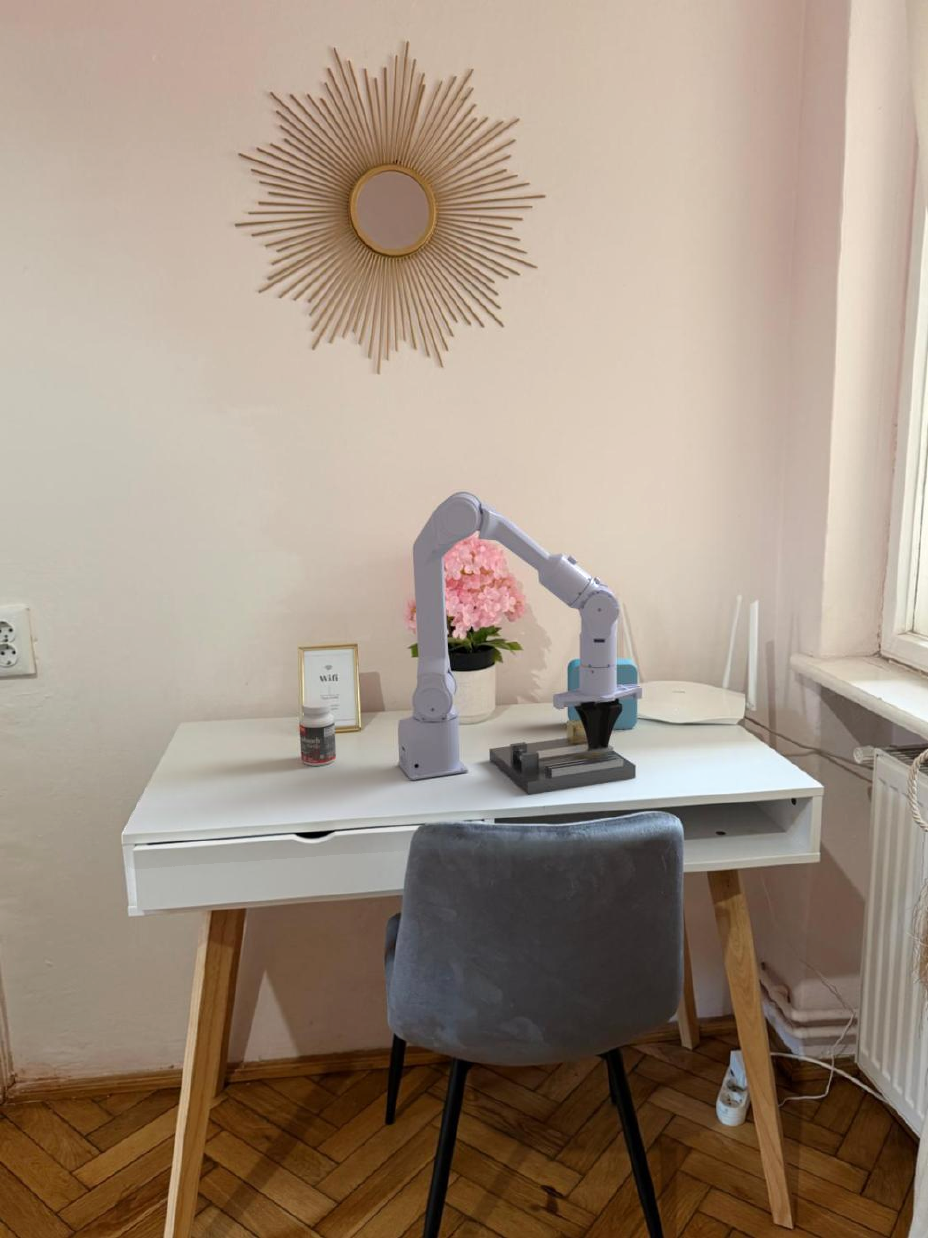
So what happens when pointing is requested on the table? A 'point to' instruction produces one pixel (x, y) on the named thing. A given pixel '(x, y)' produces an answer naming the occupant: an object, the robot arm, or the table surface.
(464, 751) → the table surface
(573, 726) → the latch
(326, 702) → the pill bottle
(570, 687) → the data package
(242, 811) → the table surface
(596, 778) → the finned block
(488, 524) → the robot arm
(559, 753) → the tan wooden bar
